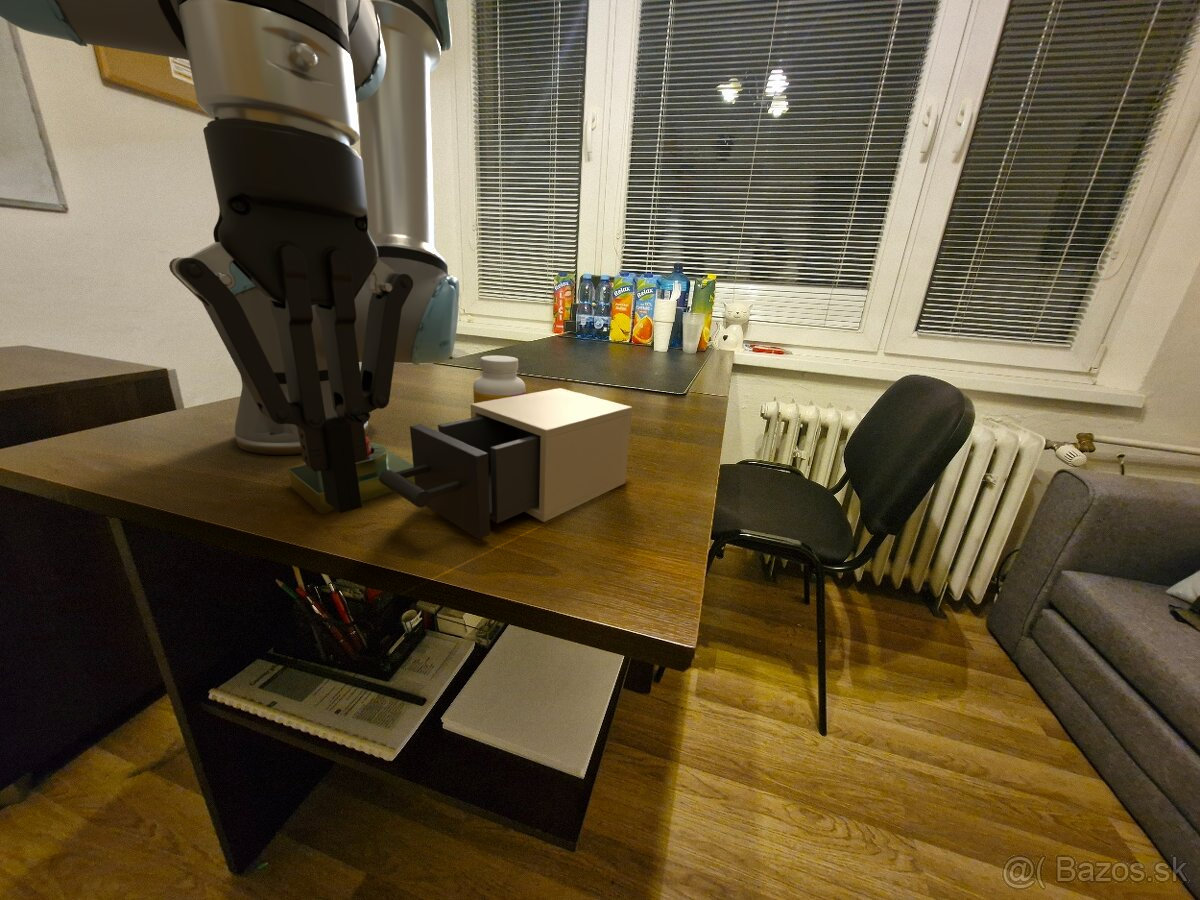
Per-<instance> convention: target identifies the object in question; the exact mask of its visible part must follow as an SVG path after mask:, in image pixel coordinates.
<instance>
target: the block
mask: <svg viewBox="0 0 1200 900" xmlns="http://www.w3.org/2000/svg"><path fill="white" fill-rule="evenodd" d="M370 443H371V451H372V454H370V455H369V456H367V457H366V460H363V461H359V462H356V468H357V475H358V483H359V490H360V497H361V503H363V502H365V501H366V502H367V501H369V500H372V499H375V498H378V497H383V496H385V495H389V494H392V493H395V492H394V491H393V490H391V489H390V488H388V487H386V486H385V485H383V484H382V483H381V482H380V481H379V475H380V474H381V472H382V471H384V470H387V469H390V470H392V471H394V472H399V471H402V470H406V469H410V468H413V462H410V461H408V460H407V459H405V458H403V457H401V456H400V455H398V454H395V453H394V452H391V451H390V450H388V447H386V446H385V445H383V444H381V443H379V442H371V441H370ZM287 473H288V478H289V483H290V487H291V488H290V489H292V490H293V491H294V492H296V493H297V494H298V495H299V496H300V497H301V498H302V499H304V500H305V501H306V502H307V503H308V504H309V505H311V507H313V508H314V509H315V510H316V511H317V512H318V513H319V514H320V515H324V514H327V513H329V512H333V511H337V510H336V509H334V508H333V507H332V506H331V505H330V504H328V503H327V502H326V500H325V494H324V488H323V482H322V476H321V471H317V472H315V471H313V470H312V469H311V468H309V467H308V466H307V465H306V464H304V465H300V466H295V467H291V468H290V467H289V468H287ZM406 479H408V480H409V481H411V482H413V483H414V484H415V478H414V476H411V477H408V478H406Z"/></svg>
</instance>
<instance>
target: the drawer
mask: <svg viewBox="0 0 1200 900" xmlns="http://www.w3.org/2000/svg"><path fill="white" fill-rule="evenodd" d="M437 429H438V430H436V429H433V428H432V427H429V426H426V425H424V424H422V423H420V424H415V425H414V424H413V425H410V426H409V432H410V442H411V443H410V444H411V454H412V464H413V468H410V469H406V470H402V471H399V472H394V471H392V470H390V469H387V470H384V471H382V472H381V474H380V475H379V481H380V482H381V483H382V484H383V485H385V486H386V487H388V488H390V489H391V490H393V491H394V492H393V493H396V494H397V495H398V496H400V497H402V498H403V499H405V501H408V502H409V503H411V504H412V505H414V506H415V507H418V508H425V507H427V508H428V509H431V511H433V512H435V513H437V514H438V515H439V516H441V517H443V518H444V519H446V520H448V521H449V522H451V523H452V524H453V525H455V526H457V527H459V528H460V529H462V530H464V531H465V532H466V533H468V534H469V535H471V536H473V537H474V538H476V539H478V540H481V539H484V538H485V537H488V536H490V535H491V521H492V522H494V523H496V524H499V523H503V522H504V521H506V520H509V519H511V518H514V517H515V516H517V515H520V514H522V513H526V512H525V511H527V510H529V509H532V508H534V507H536V506H538V505H539V490H540V439H541V436H539V435H536V434H533V433H531V432H528V431H525V430H522V429H520V428H517V427H514V426H511V425H509V424H506V423H503V422H500V421H498V420H495V419H492V418H489V417H486V416H479V417H475V418H471V417H470V418H465V419H460V420H456V421H451V422H445V423H442V424H438V425H437ZM411 476H414V478H415V484H414V483H413V482H411V481H409V480H408V479H406V478H408V477H411Z"/></svg>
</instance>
